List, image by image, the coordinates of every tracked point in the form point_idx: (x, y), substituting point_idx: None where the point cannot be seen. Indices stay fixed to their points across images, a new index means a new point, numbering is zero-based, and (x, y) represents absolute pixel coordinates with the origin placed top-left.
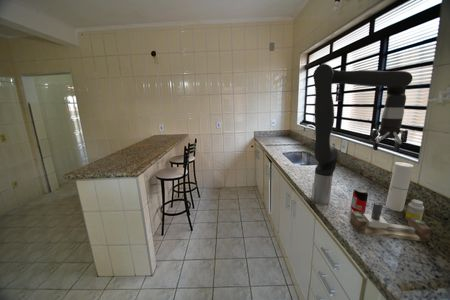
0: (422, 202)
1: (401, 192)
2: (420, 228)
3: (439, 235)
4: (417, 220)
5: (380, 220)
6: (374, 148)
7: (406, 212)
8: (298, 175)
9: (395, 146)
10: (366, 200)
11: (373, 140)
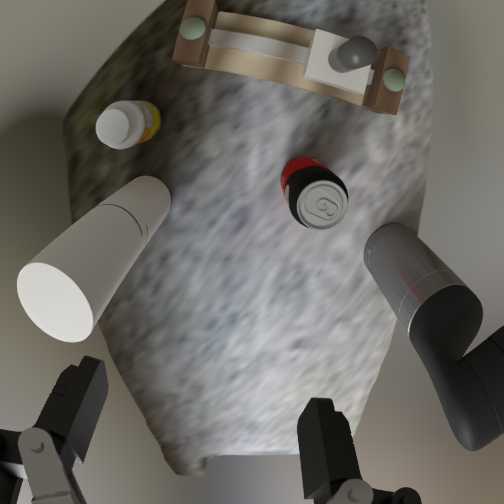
0: (99, 119)
1: (123, 200)
2: (213, 8)
3: (132, 46)
4: (193, 36)
5: (331, 46)
6: (341, 419)
7: (152, 131)
8: (342, 404)
9: (89, 418)
10: (301, 169)
11: (409, 500)
